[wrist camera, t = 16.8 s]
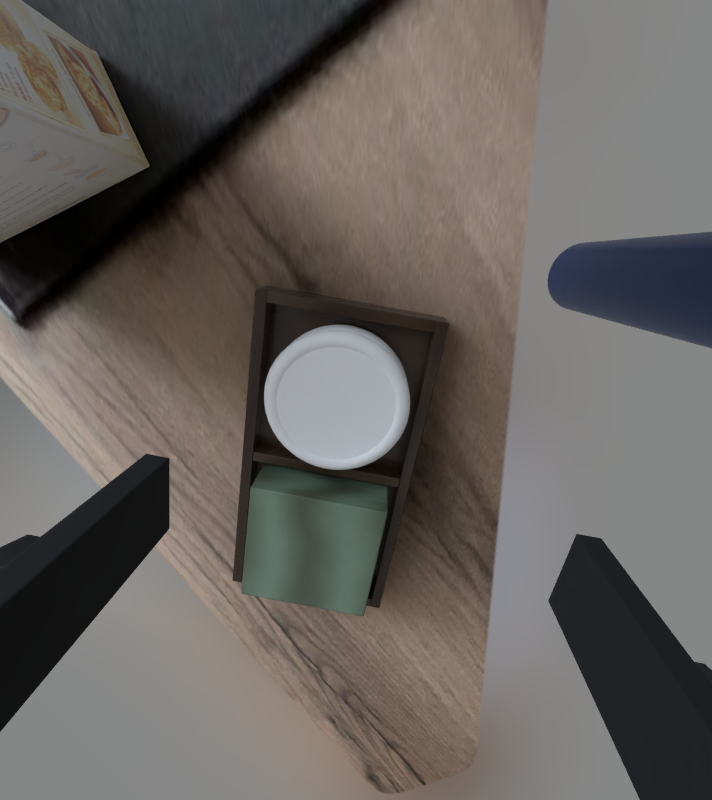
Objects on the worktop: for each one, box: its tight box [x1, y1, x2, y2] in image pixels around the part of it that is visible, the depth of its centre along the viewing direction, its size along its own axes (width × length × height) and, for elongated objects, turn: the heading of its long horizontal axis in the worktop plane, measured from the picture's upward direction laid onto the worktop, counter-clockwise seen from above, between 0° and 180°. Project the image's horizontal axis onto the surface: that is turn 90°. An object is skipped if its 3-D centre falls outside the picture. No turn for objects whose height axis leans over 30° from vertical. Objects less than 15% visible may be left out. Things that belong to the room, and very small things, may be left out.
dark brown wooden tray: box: [233, 286, 449, 616], centre depth 31 cm, size 13×25×5 cm, turn 170°
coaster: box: [264, 325, 410, 470], centre depth 28 cm, size 10×10×4 cm
